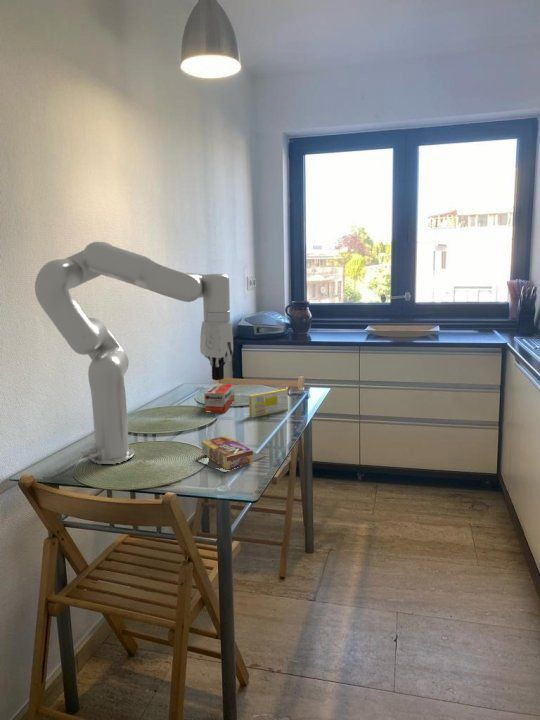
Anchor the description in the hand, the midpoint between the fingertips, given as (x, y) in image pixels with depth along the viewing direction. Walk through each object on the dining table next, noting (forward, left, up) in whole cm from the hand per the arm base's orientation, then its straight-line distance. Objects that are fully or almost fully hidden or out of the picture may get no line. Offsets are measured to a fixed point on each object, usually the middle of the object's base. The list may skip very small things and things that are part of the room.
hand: (217, 379), depth 161 cm
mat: (-1, -6, -23) cm, 24 cm away
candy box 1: (0, +2, -21) cm, 21 cm away
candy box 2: (+39, +17, -24) cm, 48 cm away
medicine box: (+32, +36, -24) cm, 53 cm away
